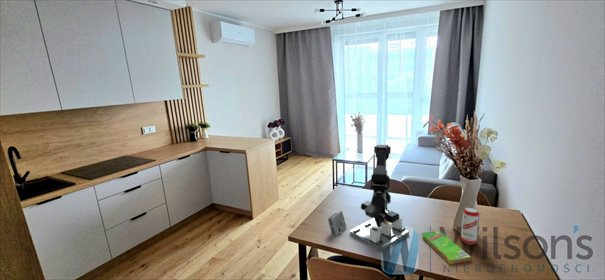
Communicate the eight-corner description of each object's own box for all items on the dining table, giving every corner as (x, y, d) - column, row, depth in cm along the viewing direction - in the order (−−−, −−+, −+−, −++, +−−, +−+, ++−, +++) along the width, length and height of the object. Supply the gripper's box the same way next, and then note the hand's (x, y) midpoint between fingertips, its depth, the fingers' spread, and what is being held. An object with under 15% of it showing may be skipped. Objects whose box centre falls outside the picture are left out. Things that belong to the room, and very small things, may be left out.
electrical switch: (337, 236, 134) (335, 219, 132) (328, 234, 137) (326, 217, 136) (346, 228, 141) (345, 211, 139) (338, 226, 144) (336, 209, 143)
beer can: (476, 246, 120) (480, 214, 117) (460, 243, 124) (463, 211, 120) (476, 239, 126) (479, 208, 122) (460, 236, 129) (463, 205, 125)
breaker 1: (372, 237, 127) (372, 226, 126) (379, 241, 124) (380, 229, 123) (369, 239, 126) (369, 228, 125) (376, 243, 123) (376, 231, 121)
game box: (449, 266, 111) (420, 236, 130) (470, 263, 112) (438, 234, 132) (450, 260, 110) (420, 231, 130) (471, 256, 112) (439, 228, 131)
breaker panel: (377, 219, 147) (377, 214, 146) (408, 234, 132) (409, 229, 131) (350, 234, 135) (350, 228, 134) (381, 252, 120) (381, 246, 119)
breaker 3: (394, 224, 137) (395, 214, 136) (401, 227, 134) (402, 217, 133) (391, 226, 135) (391, 216, 134) (398, 229, 132) (399, 219, 131)
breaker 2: (384, 230, 132) (384, 220, 131) (391, 234, 129) (391, 223, 128) (381, 232, 131) (381, 222, 129) (387, 236, 127) (388, 225, 126)
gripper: (353, 196, 132) (353, 224, 136) (385, 210, 117) (384, 241, 121) (368, 189, 138) (368, 217, 142) (400, 202, 124) (399, 232, 127)
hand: (378, 226), depth 133 cm, fingers closed
